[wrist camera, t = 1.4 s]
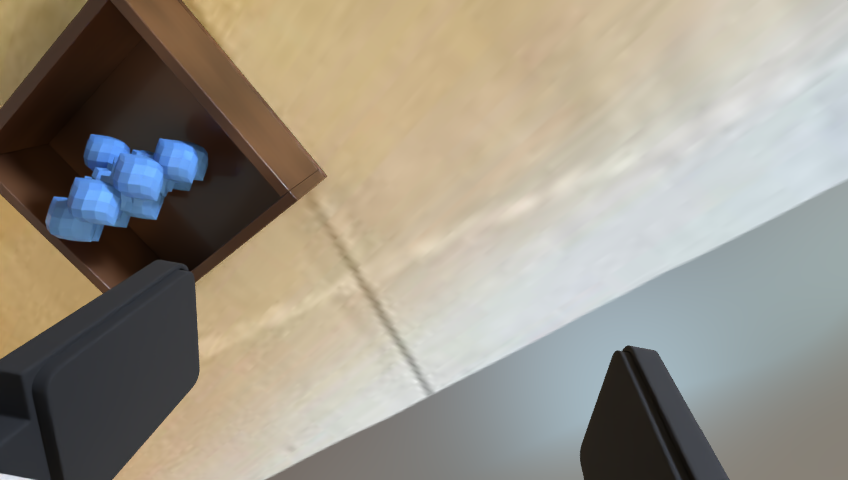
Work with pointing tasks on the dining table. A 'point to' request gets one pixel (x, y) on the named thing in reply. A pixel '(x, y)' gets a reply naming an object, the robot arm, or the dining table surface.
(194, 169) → the grapes
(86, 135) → the brown wooden box
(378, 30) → the dining table surface
